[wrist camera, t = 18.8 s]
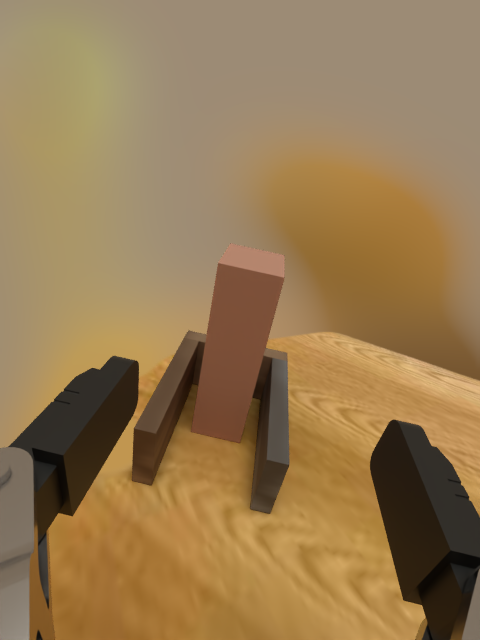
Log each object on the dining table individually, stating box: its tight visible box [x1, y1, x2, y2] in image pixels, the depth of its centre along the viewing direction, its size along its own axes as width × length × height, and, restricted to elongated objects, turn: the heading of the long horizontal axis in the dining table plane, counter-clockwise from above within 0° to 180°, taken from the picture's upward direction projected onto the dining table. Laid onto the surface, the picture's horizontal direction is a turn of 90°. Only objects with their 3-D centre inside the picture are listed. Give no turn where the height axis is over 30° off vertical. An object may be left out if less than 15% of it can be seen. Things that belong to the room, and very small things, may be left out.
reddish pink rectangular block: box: [191, 244, 285, 443], centre depth 27 cm, size 4×6×16 cm
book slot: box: [132, 331, 289, 514], centre depth 28 cm, size 10×14×6 cm
